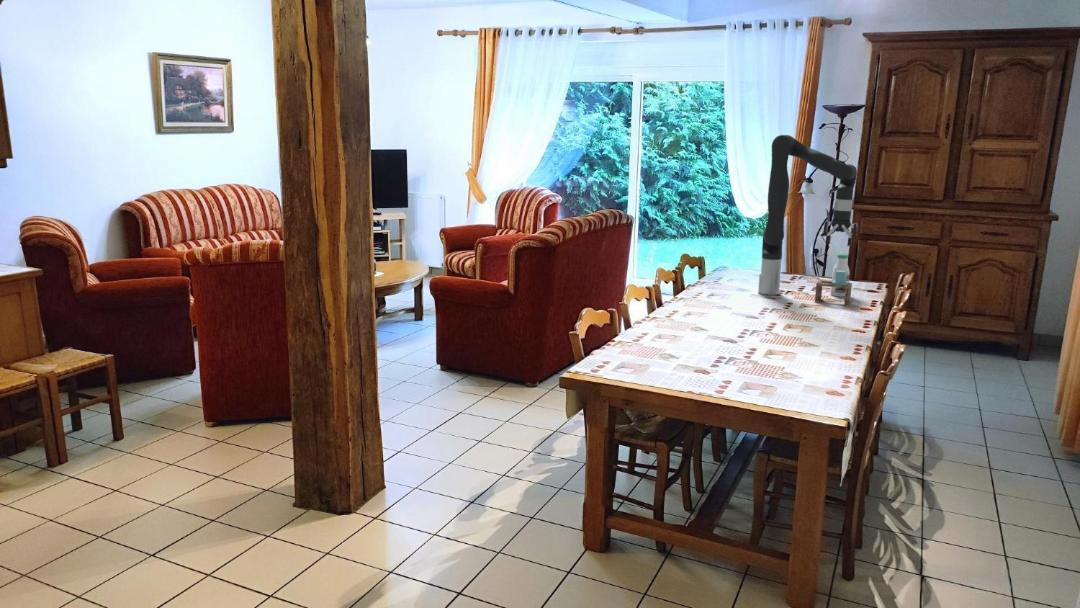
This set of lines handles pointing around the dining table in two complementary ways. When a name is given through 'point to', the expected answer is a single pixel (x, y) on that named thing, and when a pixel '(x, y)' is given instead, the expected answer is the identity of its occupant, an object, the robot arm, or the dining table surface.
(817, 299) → the brown keyhole frame
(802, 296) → the dining table surface
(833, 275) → the milk bottle
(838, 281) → the teal peg
